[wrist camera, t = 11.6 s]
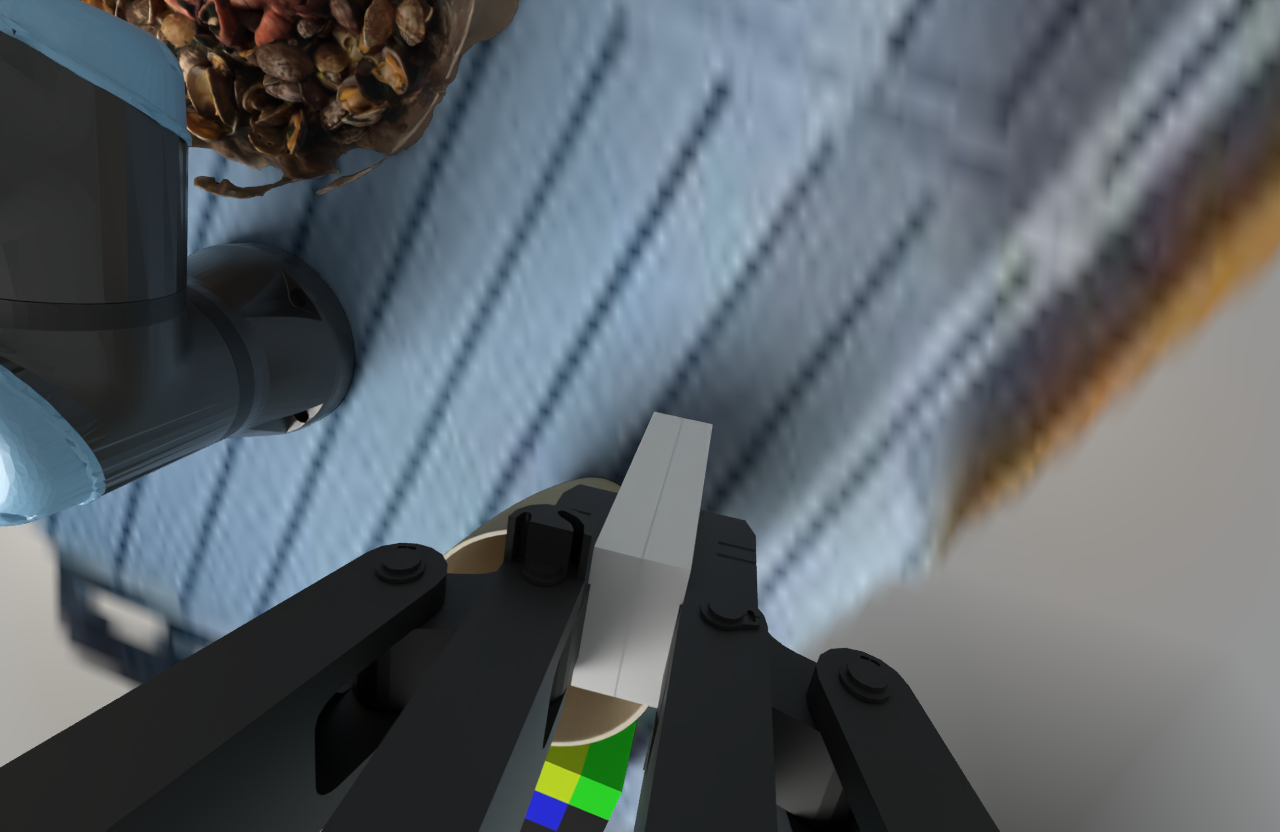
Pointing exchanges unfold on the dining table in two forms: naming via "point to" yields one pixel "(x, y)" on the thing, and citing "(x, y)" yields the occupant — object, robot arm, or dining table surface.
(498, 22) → the food dish
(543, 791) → the puzzle toy
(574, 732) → the plant pot
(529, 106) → the dining table surface
